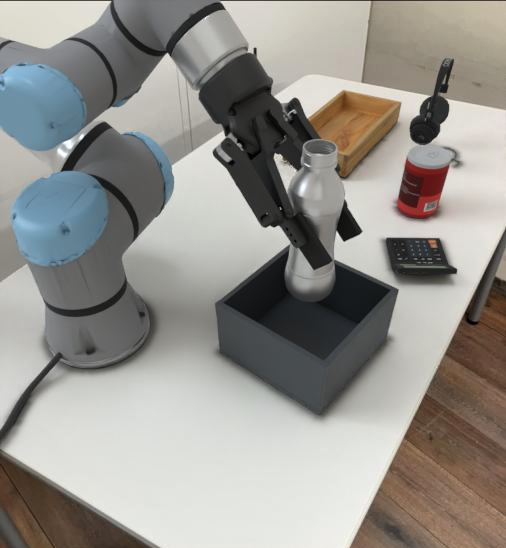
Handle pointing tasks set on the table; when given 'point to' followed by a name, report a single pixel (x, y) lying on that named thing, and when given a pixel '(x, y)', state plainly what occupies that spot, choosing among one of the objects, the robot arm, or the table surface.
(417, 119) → the headphones
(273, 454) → the table surface
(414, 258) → the calculator
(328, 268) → the plastic bottle
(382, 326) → the bin
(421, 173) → the canned food
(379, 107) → the tray
